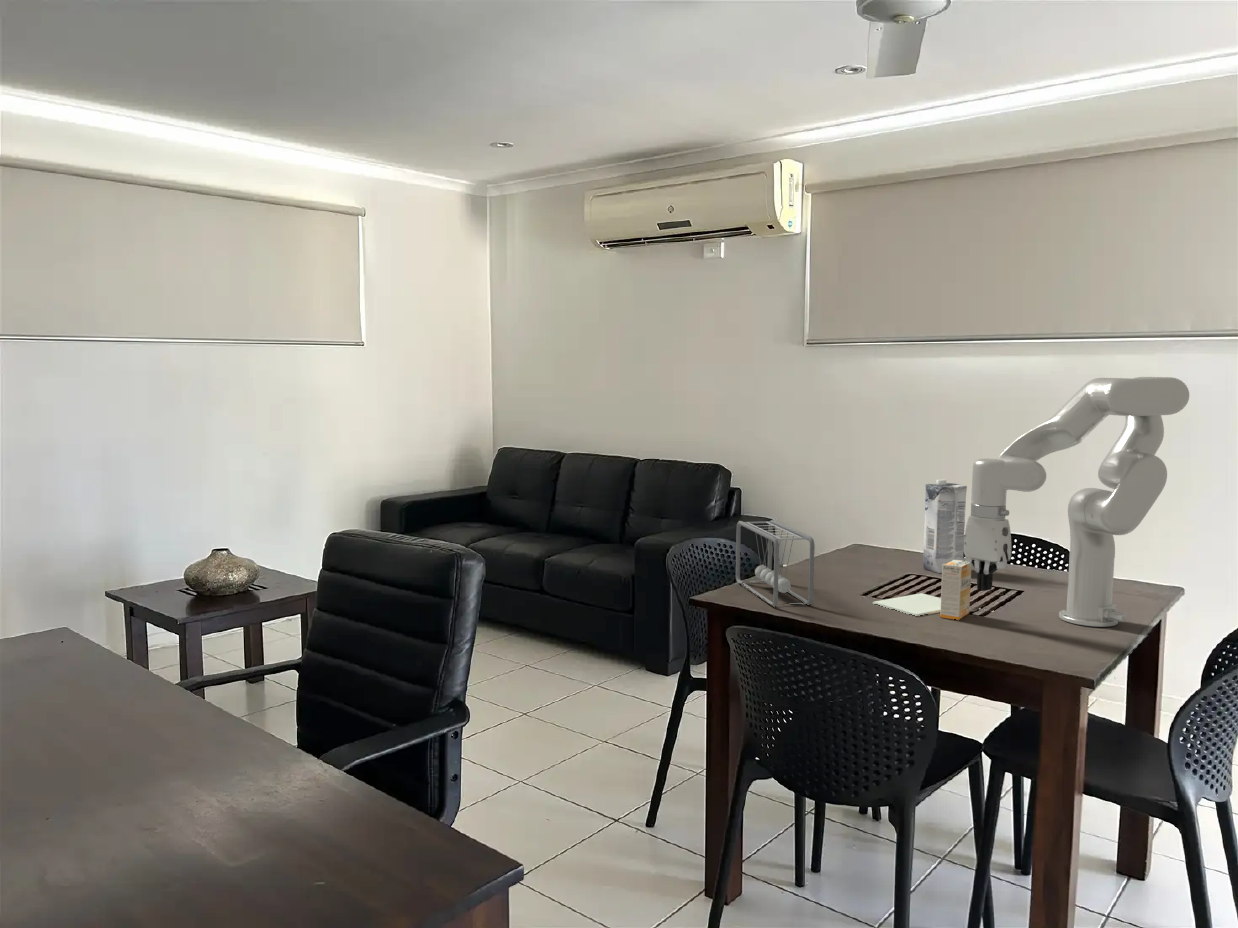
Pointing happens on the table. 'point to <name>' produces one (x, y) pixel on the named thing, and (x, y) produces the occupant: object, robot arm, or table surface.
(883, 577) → the table surface
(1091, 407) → the robot arm
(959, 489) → the juice carton
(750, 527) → the newton's cradle
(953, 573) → the supplement box
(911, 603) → the mat
